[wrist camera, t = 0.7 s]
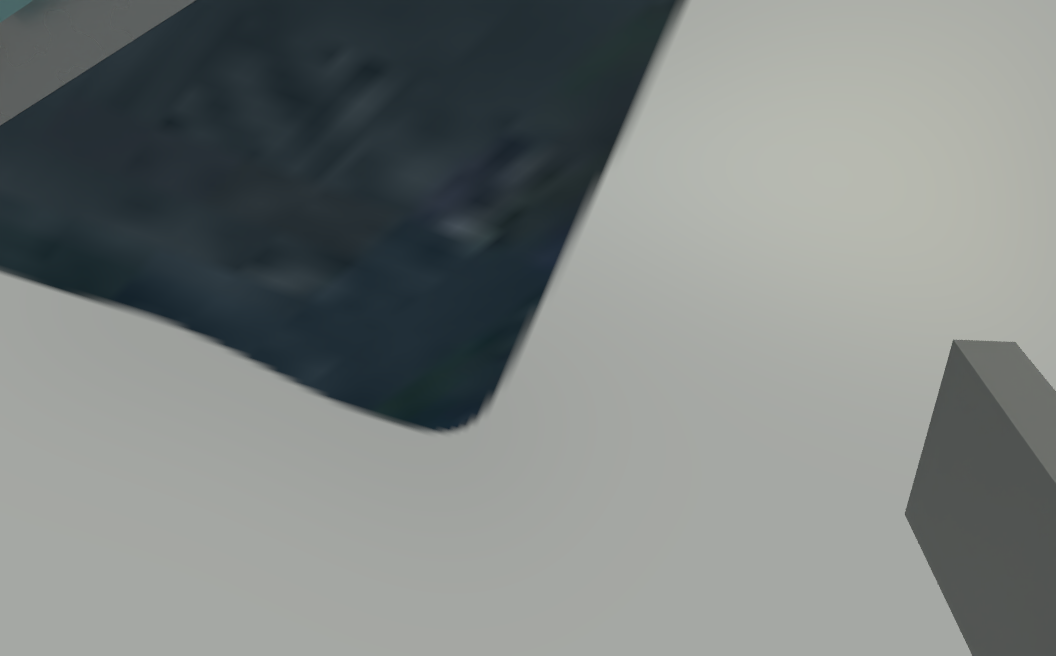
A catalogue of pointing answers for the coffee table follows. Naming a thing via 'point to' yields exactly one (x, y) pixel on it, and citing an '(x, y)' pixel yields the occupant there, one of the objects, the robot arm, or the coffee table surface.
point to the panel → (67, 42)
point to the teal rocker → (11, 7)
